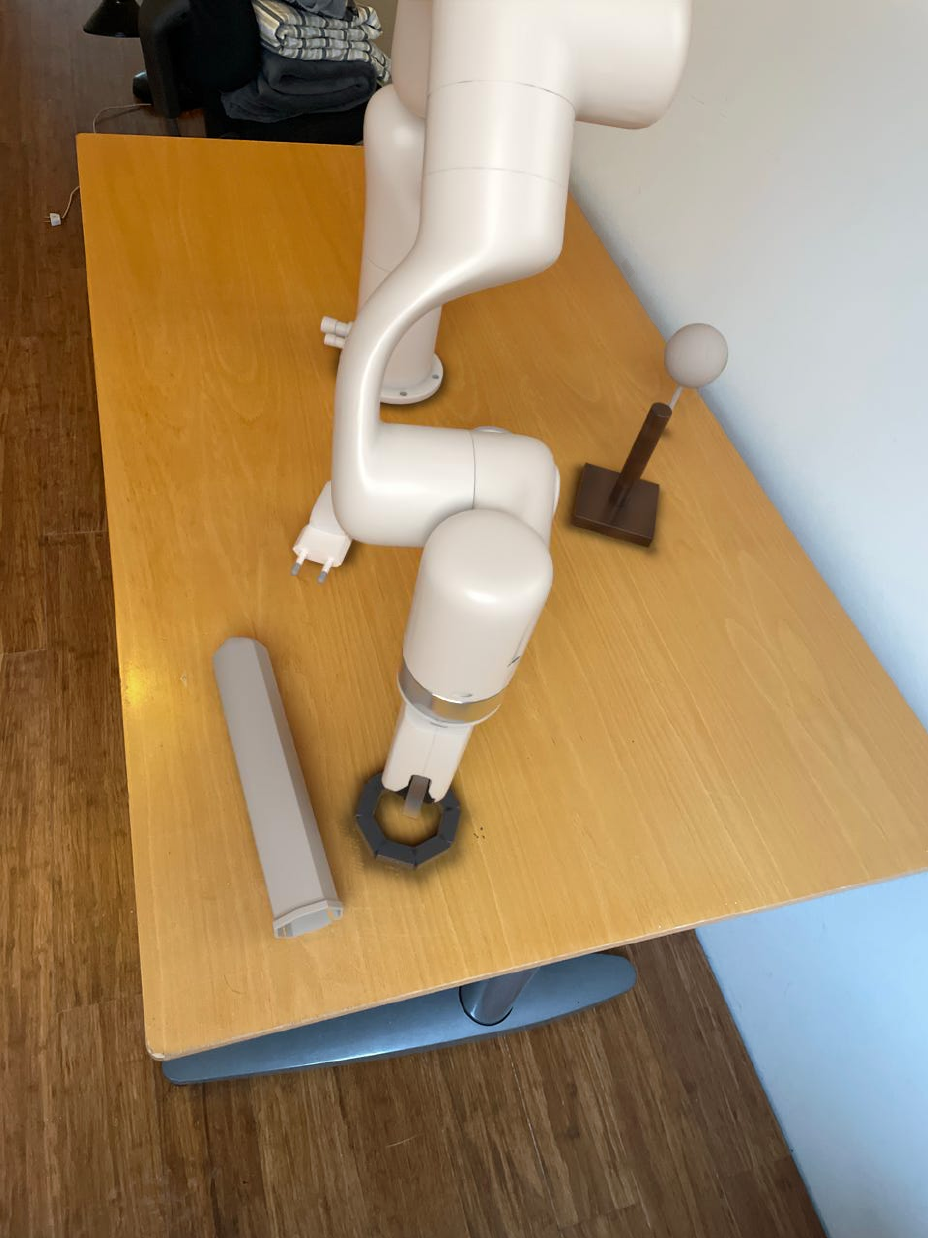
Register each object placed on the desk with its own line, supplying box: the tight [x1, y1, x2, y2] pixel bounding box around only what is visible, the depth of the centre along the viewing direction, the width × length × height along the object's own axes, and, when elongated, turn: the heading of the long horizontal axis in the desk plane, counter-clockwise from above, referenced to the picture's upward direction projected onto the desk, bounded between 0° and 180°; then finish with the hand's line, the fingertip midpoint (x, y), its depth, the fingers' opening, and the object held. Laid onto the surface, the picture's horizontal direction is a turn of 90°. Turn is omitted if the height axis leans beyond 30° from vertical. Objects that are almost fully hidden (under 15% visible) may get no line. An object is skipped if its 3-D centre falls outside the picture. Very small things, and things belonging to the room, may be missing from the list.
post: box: [571, 401, 673, 549], centre depth 87 cm, size 9×9×14 cm
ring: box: [353, 771, 462, 872], centre depth 66 cm, size 8×8×1 cm
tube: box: [211, 636, 345, 939], centre depth 65 cm, size 5×5×25 cm
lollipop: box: [663, 322, 729, 411], centre depth 97 cm, size 7×7×15 cm
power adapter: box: [289, 479, 354, 585], centre depth 79 cm, size 11×5×6 cm, turn 166°
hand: (417, 782), depth 69 cm, fingers closed on ring, 1 cm apart
